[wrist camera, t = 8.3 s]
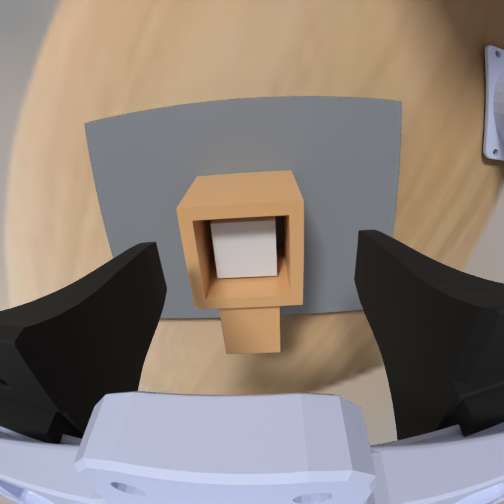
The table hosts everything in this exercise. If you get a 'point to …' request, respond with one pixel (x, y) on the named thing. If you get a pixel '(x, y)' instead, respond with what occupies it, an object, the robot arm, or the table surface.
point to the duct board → (245, 161)
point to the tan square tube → (244, 288)
